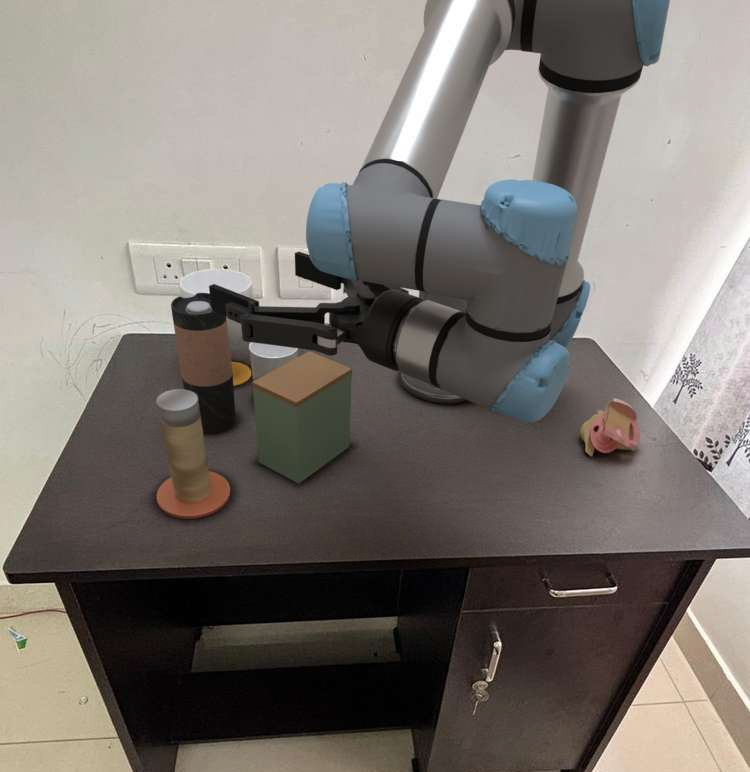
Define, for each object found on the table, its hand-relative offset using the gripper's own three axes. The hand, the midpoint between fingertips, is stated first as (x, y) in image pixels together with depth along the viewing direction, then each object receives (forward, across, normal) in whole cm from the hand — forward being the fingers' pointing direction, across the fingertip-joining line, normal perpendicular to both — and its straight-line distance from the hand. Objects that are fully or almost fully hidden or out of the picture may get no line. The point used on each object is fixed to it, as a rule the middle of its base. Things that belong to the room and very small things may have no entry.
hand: (257, 279), depth 72 cm
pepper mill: (+11, -9, -27) cm, 30 cm away
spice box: (+1, +8, -30) cm, 31 cm away
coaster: (+6, -9, -30) cm, 32 cm away
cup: (+27, +18, -30) cm, 44 cm away
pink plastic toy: (-36, +41, -30) cm, 62 cm away
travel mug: (+18, +6, -30) cm, 36 cm away
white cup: (+15, +17, -30) cm, 38 cm away
